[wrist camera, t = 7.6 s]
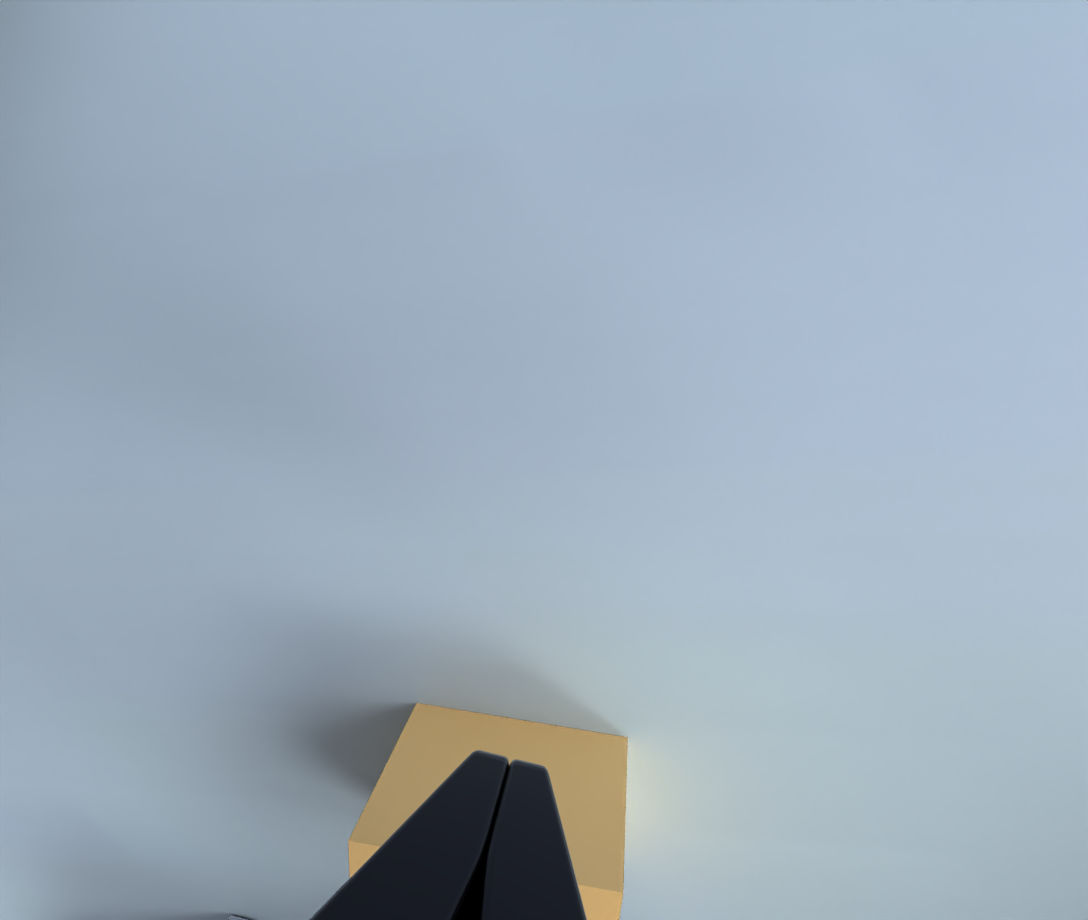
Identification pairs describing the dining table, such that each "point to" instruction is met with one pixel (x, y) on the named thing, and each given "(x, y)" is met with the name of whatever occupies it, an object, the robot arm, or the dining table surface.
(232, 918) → the plate
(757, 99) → the dining table surface
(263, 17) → the dining table surface
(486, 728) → the plug
